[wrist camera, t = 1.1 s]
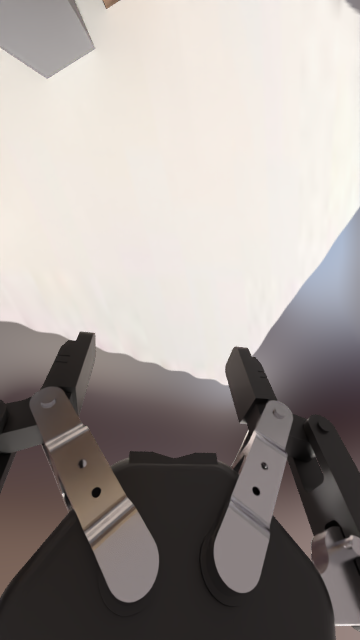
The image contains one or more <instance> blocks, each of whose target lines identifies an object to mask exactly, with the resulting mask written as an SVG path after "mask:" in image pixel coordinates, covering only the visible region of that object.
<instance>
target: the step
mask: <svg viewBox="0 0 360 640" xmlns="http://www.w3.org/2000/svg"><path fill="white" fill-rule="evenodd" d="M0 48H2V49H3V50H5V51H6V52H8V53H9V54H11V55H12V56H14V57H15V58H17V59H18V60H20V61H21V62H23V63H24V64H26V65H27V66H29V67H30V68H32V69H33V70H35V71H36V72H38V73H39V74H41V75H42V76H44V77H45V78H49V77H51V76H52V75H54V74H55V73H57V72H59V71H60V70H62V69H63V68H65V67H67V66H68V65H70V64H71V63H73V62H75V61H76V60H78V59H79V58H81V57H83V56H84V55H86V54H87V53H89V52H91V51H92V50H94V49H95V47H94V45H93V43H92V40H91V38H90V36H89V33H88V31H87V29H86V26H85V24H84V22H83V19H82V17H81V15H80V12H79V10H78V8H77V5H76V3H75V1H74V0H0Z"/></svg>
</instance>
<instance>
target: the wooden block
mask: <svg viewBox="0 0 360 640" xmlns="http://www.w3.org/2000/svg"><path fill="white" fill-rule="evenodd" d="M118 1H120V0H103V2H104V4H105V7H106V9H107V8H109V7H110V6H112V5H113V4H115V3H116V2H118Z"/></svg>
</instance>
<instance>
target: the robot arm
mask: <svg viewBox="0 0 360 640" xmlns="http://www.w3.org/2000/svg"><path fill="white" fill-rule="evenodd" d="M95 352H96V350H95V333H90V332H80V333H79V335H78V338H77V340H76V341H72V340H68V341H67V342H66V343H65V344H64V345H62V346H61V348H60V350H59V352H58V355H57V357H56V359H55V361H54V363H53V365H52V367H51V369H50V372H49V374H48V376H47V378H46V380H45V382H44V384H43V386H42V388H41V389H40V390H39V391H37V392H36V393H35V394H34V395H33V396H32V397H30V398H28V399H25V400H22V401H18V402H12V403H7V404H5V403H4V402H3V401H2V400H0V493H1V490H2V488H3V485H4V482H5V480H6V477H7V475H8V472H9V470H10V467H11V465H12V462H13V459H14V457H15V454H16V452H17V451H19V450H22V449H26V448H30V447H33V446H36V445H40V444H41V445H42V447H43V450H44V452H45V454H46V457H47V459H48V462H49V464H50V467H51V469H52V471H53V474H54V476H55V479H56V482H57V485H58V487H59V490H60V492H61V495H62V497H63V500H64V502H65V505H66V507H67V509H68V512H69V513H68V515H67V516H66V517H65V518H64V519H63V520H62V521H61V523H60V524H59V525H58V527H56V529H55V530H54V531H53V532H52V533H51V534H50V536H49V537H48V538H47V539H46V540H45V542H44V543H43V544H42V545H41V546H40V548H39V549H38V550H37V551H36V552H35V553H34V554H33V556H32V557H31V558H30V559H29V560H28V562H27V563H26V564H25V565H24V566H23V567H22V569H21V570H20V571H19V572H18V574H17V575H16V576H15V577H14V578H13V579H12V581H11V582H10V584H9V585H8V586H7V588H6V589H5V591H4V592H3V594H2V596H1V598H0V640H336V636H335V626H338V625H339V626H340V625H341V626H345V625H346V626H347V625H348V626H349V625H351V626H352V627H353V628H354V629H356V630H357V631H360V473H359V471H358V469H357V467H356V465H355V463H354V462H353V460H352V458H351V456H350V454H349V453H348V451H347V449H346V447H345V445H344V443H343V442H342V440H341V438H340V436H339V434H338V433H337V431H336V429H335V427H334V426H333V424H332V423H331V422H330V421H329V420H327V419H326V418H324V417H322V416H320V415H311V416H310V417H309V418H308V419H305V418H302V417H299V416H297V415H294V414H292V413H291V411H290V409H289V408H288V407H287V406H286V405H284V404H283V403H281V402H279V401H277V399H276V396H275V394H274V392H273V390H272V387H271V385H270V383H269V381H268V379H267V376H266V374H265V373H264V369H263V367H262V365H261V363H260V362H259V361H258V360H257V359H256V358H255V357H252V356H251V354H250V351H249V349H248V348H244V347H234V348H233V350H232V352H231V355H230V357H229V359H228V361H227V364H226V368H225V372H226V377H227V380H228V384H229V387H230V391H231V395H232V398H233V402H234V405H235V409H236V412H237V416H238V420H239V423H240V424H247V426H248V429H249V430H248V432H247V434H246V436H245V439H244V441H243V443H242V445H241V447H240V450H239V452H238V454H237V457H236V459H235V461H234V462H233V464H232V466H231V467H229V466H228V465H226V464H225V463H223V462H221V461H218V460H217V457H216V453H193V454H190V455H186V456H183V457H179V458H170V457H167V456H164V455H161V454H157V453H154V452H133V451H130V454H129V458H127V459H123V460H121V461H119V462H117V463H115V464H113V465H112V466H109V464H108V462H107V461H106V459H105V457H104V455H103V453H102V452H101V450H100V448H99V446H98V444H97V443H96V441H95V439H94V437H93V436H92V434H91V432H90V430H89V429H88V427H87V426H84V425H83V424H82V423H81V421H80V419H79V414H80V411H81V407H82V404H83V400H84V397H85V393H86V390H87V386H88V383H89V379H90V376H91V373H92V369H93V365H94V361H95ZM316 458H317V460H318V462H317V460H316ZM287 459H288V462H289V465H290V468H291V471H292V474H293V477H294V480H295V483H296V486H297V489H298V492H299V494H300V497H301V500H302V503H303V506H304V509H305V512H306V515H307V517H308V521H309V524H310V526H311V529H312V532H313V535H314V537H313V539H312V542H311V550H312V554H311V560H312V561H311V560H310V559H309V558H308V556H307V555H306V554H305V553H304V552H303V551H302V549H301V548H300V547H299V546H298V545H297V543H296V542H295V541H294V540H293V539H292V537H291V536H290V535H289V534H288V533H287V532H286V531H285V529H284V528H283V527H282V526H281V524H280V523H279V522H278V521H277V520H276V519H275V517H274V516H273V511H274V507H275V503H276V499H277V495H278V491H279V487H280V484H281V480H282V476H283V472H284V468H285V464H286V460H287ZM318 463H319V464H318ZM319 465H320V466H319ZM320 467H321V469H320ZM321 470H322V471H321ZM322 472H323V473H322Z"/></svg>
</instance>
